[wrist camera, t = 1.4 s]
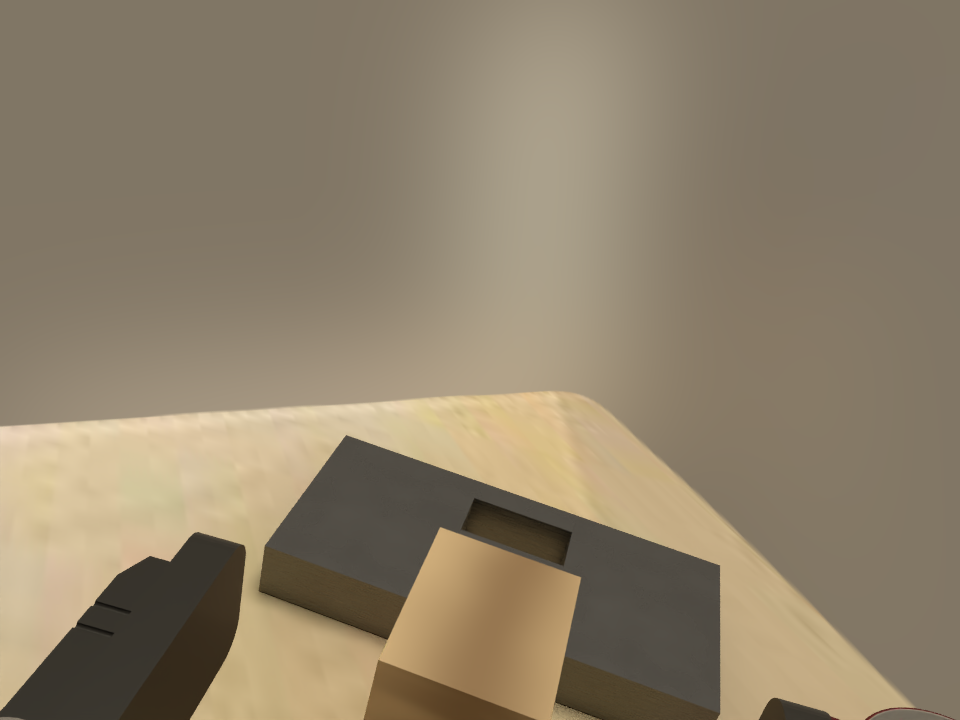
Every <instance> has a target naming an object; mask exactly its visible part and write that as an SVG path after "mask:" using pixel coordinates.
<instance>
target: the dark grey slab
mask: <svg viewBox="0 0 960 720" xmlns="http://www.w3.org/2000/svg"><path fill="white" fill-rule="evenodd" d="M440 527H441V528H444V529H447V530H449V531H452V532H455V533H458V534H461V535H464V536H466V537H469V538H472V539H475V540H478V541H480V542H483V543H486V544H489V545H492V546H494V547H497V548H500V549H503V550H506V551H508V552H511V553H514V554H517V555H520V556H522V557H525V558H528V559H531V560H534V561H536V562H539V563H542V564H545V565H548V566H550V567H553V568H556V569H559V570H562V571H564V572H567V573H570V574H573V575H576V576H579V577H581V580H580V585H579V590H578V594H577V599H576V604H575V609H574V613H573V618H572V623H571V628H570V632H569V637H568V642H567V646H566V651H565V656H564V661H563V665H562V670H561V675H560V679H559V684H558V689H557V694H556V698H555V702H558V703H560V704H563V705H566V706H568V707H571V708H574V709H576V710H579V711H582V712H584V713H587V714H590V715H592V716H595V717H598V718H600V719H603V720H717V718H718V716H719V715H720V565H717V564H714V563H711V562H708V561H705V560H702V559H699V558H697V557H694V556H691V555H688V554H685V553H682V552H679V551H677V550H674V549H671V548H668V547H665V546H662V545H659V544H656V543H654V542H651V541H648V540H645V539H642V538H639V537H636V536H633V535H631V534H628V533H625V532H622V531H619V530H616V529H613V528H611V527H608V526H605V525H602V524H599V523H596V522H593V521H590V520H588V519H585V518H582V517H579V516H576V515H573V514H570V513H568V512H565V511H562V510H559V509H556V508H553V507H550V506H547V505H545V504H542V503H539V502H536V501H533V500H530V499H527V498H525V497H522V496H519V495H516V494H513V493H510V492H507V491H504V490H502V489H499V488H496V487H493V486H490V485H487V484H484V483H482V482H479V481H476V480H473V479H470V478H467V477H464V476H461V475H459V474H456V473H453V472H450V471H447V470H444V469H441V468H438V467H436V466H433V465H430V464H427V463H424V462H421V461H418V460H416V459H413V458H410V457H407V456H404V455H401V454H398V453H395V452H393V451H390V450H387V449H384V448H381V447H378V446H375V445H373V444H370V443H367V442H364V441H361V440H358V439H355V438H352V437H350V436H347V435H346V436H345V438H344V439H343V440H342V442H341V443H340V444H339V446H338V447H337V448H336V450H335V451H334V452H333V454H332V455H331V457H330V458H329V459H328V461H327V462H326V463H325V465H324V466H323V467H322V469H321V470H320V472H319V473H318V474H317V476H316V477H315V478H314V480H313V481H312V482H311V484H310V485H309V486H308V488H307V489H306V491H305V492H304V493H303V495H302V496H301V497H300V499H299V500H298V501H297V503H296V504H295V506H294V507H293V508H292V510H291V511H290V512H289V514H288V515H287V516H286V518H285V519H284V520H283V522H282V523H281V525H280V526H279V527H278V529H277V530H276V531H275V533H274V534H273V535H272V537H271V538H270V540H269V541H268V542H267V544H266V545H265V549H264V556H263V564H262V571H261V579H260V587H259V591H261V592H264V593H267V594H269V595H272V596H275V597H277V598H280V599H283V600H285V601H288V602H291V603H293V604H296V605H299V606H301V607H304V608H307V609H309V610H312V611H315V612H317V613H320V614H323V615H325V616H328V617H331V618H333V619H336V620H339V621H341V622H344V623H347V624H349V625H352V626H355V627H357V628H360V629H363V630H365V631H368V632H371V633H373V634H376V635H379V636H381V637H384V638H387V639H388V638H389V636H390V634H391V632H392V630H393V628H394V625H395V623H396V621H397V619H398V617H399V615H400V613H401V610H402V608H403V606H404V604H405V602H406V600H407V598H408V595H409V593H410V591H411V589H412V587H413V585H414V582H415V580H416V578H417V576H418V574H419V572H420V570H421V567H422V565H423V563H424V561H425V559H426V557H427V555H428V552H429V550H430V548H431V546H432V544H433V542H434V539H435V537H436V535H437V533H438V531H439V529H440Z"/></svg>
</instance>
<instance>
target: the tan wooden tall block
mask: <svg viewBox="0 0 960 720" xmlns="http://www.w3.org/2000/svg"><path fill="white" fill-rule="evenodd" d="M580 580H581V577H579V576H576V575H573V574H570V573H567V572H564V571H562V570H559V569H556V568H553V567H550V566H548V565H545V564H542V563H539V562H536V561H534V560H531V559H528V558H525V557H522V556H520V555H517V554H514V553H511V552H508V551H506V550H503V549H500V548H497V547H494V546H492V545H489V544H486V543H483V542H480V541H478V540H475V539H472V538H469V537H466V536H464V535H461V534H458V533H455V532H452V531H449V530H447V529H444V528H441V527H440V529H439V531H438V533H437V535H436V537H435V539H434V542H433V544H432V546H431V548H430V550H429V552H428V555H427V557H426V559H425V561H424V563H423V565H422V567H421V570H420V572H419V574H418V576H417V578H416V580H415V582H414V585H413V587H412V589H411V591H410V593H409V595H408V598H407V600H406V602H405V604H404V606H403V608H402V610H401V613H400V615H399V617H398V619H397V621H396V623H395V625H394V628H393V630H392V632H391V634H390V636H389V638H388V641H387V643H386V645H385V647H384V649H383V651H382V653H381V656H380V658H379V660H378V664H377V668H376V672H375V676H374V680H373V684H372V688H371V692H370V696H369V700H368V705H367V709H366V713H365V717H364V720H551V717H552V713H553V708H554V703H555V698H556V694H557V689H558V684H559V679H560V675H561V670H562V665H563V661H564V656H565V651H566V646H567V642H568V637H569V632H570V628H571V623H572V618H573V613H574V609H575V604H576V599H577V594H578V590H579V585H580Z"/></svg>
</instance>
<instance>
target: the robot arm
mask: <svg viewBox="0 0 960 720" xmlns="http://www.w3.org/2000/svg"><path fill="white" fill-rule="evenodd" d="M245 556H246V550H245V546H244V545H241V544H238V543H234V542H231V541H227V540H224V539H220V538H217V537H213V536H209V535H206V534H202V533H199V532H196V533H194V534H193V535H192V536H191V537H190V538H189V539H188V540H187V541H186V543H185V544H184V545H183V546H182V548H181V549H180V550H179V552H178V553H177V554H176V555H175V557H174V558H173V559H172V560H171V562H169V561H166V560H162V559H159V558H155V557H152V556H149V557H148V558H146V559H144V560H142V561H141V562H139V563H137V564H135V565H134V566H132V567H130V568H128V569H127V570H125V571H123V572H122V573H120V574H118V575H117V576H116V577H115V578H114V580H113V581H112V582H111V583H110V584H109V585H108V587H107V588H106V589H105V590H104V591H103V592H102V594H101V595H100V596H99V597H98V598H97V599H96V601H95V604H94V606H90V608H89V609H88V610H87V611H86V612H85V613H84V615H83V616H82V617H81V618H80V619H79V620H78V622H77V625H76V627H75V628H72V629H71V630H70V631H69V632H68V633H67V634H66V636H65V637H64V638H63V639H62V640H61V641H60V643H59V644H58V645H57V646H56V647H55V648H54V650H53V651H52V652H51V653H50V654H49V655H48V657H47V658H46V659H45V660H44V661H43V662H42V664H41V665H40V666H39V667H38V668H37V670H36V671H35V672H34V673H33V674H32V675H31V677H30V678H29V679H28V680H27V681H26V682H25V684H24V685H23V686H22V687H21V688H20V689H19V691H18V692H17V693H16V694H15V695H14V696H13V698H12V699H11V700H10V701H9V702H8V703H7V705H6V706H5V707H4V708H3V709H2V710H1V711H0V720H190V718H191V716H192V715H193V713H194V711H195V710H196V708H197V706H198V705H199V703H200V701H201V700H202V698H203V696H204V695H205V693H206V691H207V689H208V688H209V686H210V684H211V683H212V681H213V679H214V678H215V676H216V674H217V673H218V671H219V669H220V668H221V666H222V664H223V662H224V661H225V659H226V657H227V655H228V652H229V650H230V648H231V645H232V642H233V640H234V637H235V633H236V630H237V626H238V620H239V612H240V603H241V594H242V584H243V575H244V566H245ZM759 720H832V719H831V717H830V715H829V714H828V713H826V712H824V711H821V710H817V709H814V708H810V707H807V706H803V705H800V704H796V703H793V702H789V701H785V700H782V699H778V698H773V699H771V700H770V701H769V702H768V704H767V705H766V707H765V709H764V711H763V713H762V715H761V717H760V719H759Z"/></svg>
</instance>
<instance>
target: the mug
mask: <svg viewBox="0 0 960 720" xmlns="http://www.w3.org/2000/svg"><path fill="white" fill-rule="evenodd" d="M831 719H832V720H839V719H836V718H833V717H831ZM865 720H954V719H952V718H949V717H947V716H944V715H941V714H938V713H934V712H930V711H927V710H921V709H916V708H890V709H885V710H881V711H879V712H876V713H874V714H872V715H871V716H869V717H868V718H866V719H865Z"/></svg>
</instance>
